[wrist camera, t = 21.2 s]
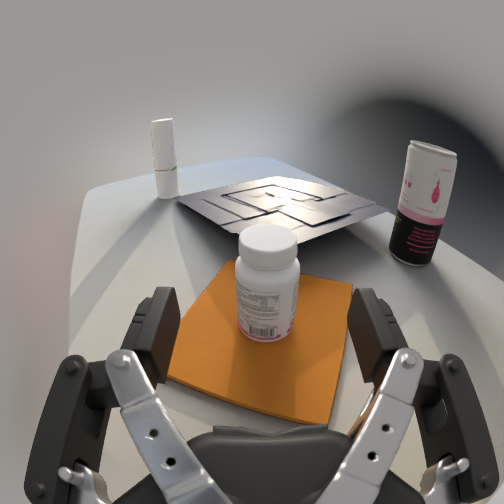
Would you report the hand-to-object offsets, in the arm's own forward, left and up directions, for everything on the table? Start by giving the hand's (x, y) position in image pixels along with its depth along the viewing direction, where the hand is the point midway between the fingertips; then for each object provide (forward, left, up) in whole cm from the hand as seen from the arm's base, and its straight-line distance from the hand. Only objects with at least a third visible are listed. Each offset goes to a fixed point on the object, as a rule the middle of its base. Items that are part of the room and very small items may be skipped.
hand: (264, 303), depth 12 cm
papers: (+31, +8, -10) cm, 33 cm away
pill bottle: (+7, +2, -9) cm, 12 cm away
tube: (+32, +30, -10) cm, 45 cm away
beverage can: (+25, -13, -10) cm, 30 cm away
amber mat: (+7, +2, -10) cm, 12 cm away
